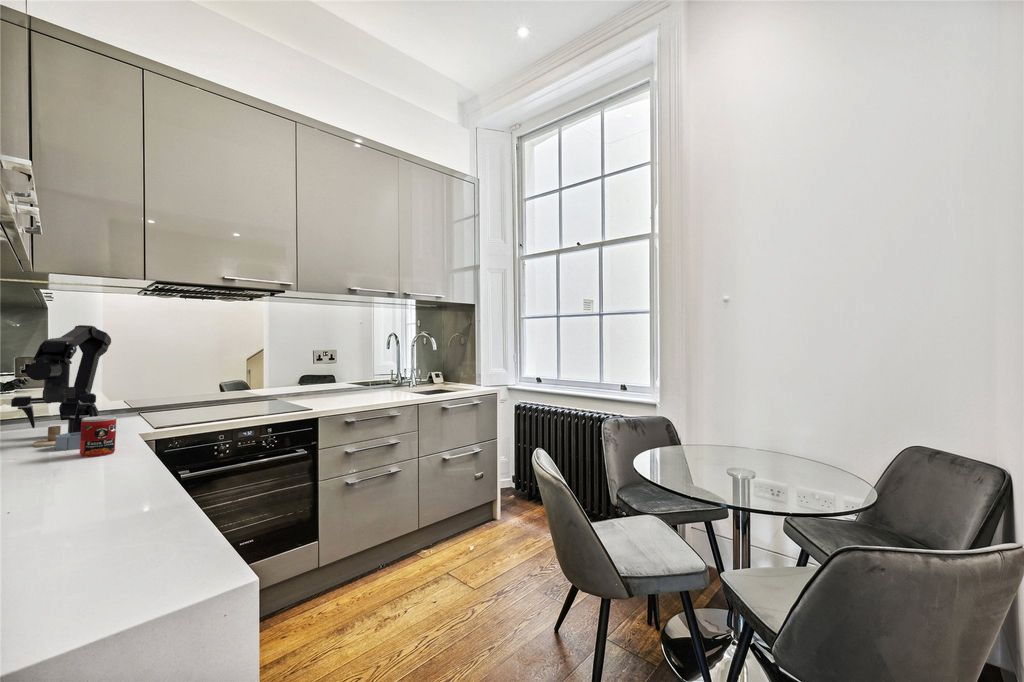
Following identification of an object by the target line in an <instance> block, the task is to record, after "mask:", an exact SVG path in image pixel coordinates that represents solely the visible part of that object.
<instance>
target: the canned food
mask: <svg viewBox="0 0 1024 682" xmlns="http://www.w3.org/2000/svg"><path fill="white" fill-rule="evenodd" d="M116 435H117V416H115V415H98V416H95V417H87V418H83V419H82V421H81V439H80V449H79V455H80V457H82V458H96V457H98V458H99V457H103V456H108V455H112V454H114V452H115V451H116V439H117V438H116Z"/></svg>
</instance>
